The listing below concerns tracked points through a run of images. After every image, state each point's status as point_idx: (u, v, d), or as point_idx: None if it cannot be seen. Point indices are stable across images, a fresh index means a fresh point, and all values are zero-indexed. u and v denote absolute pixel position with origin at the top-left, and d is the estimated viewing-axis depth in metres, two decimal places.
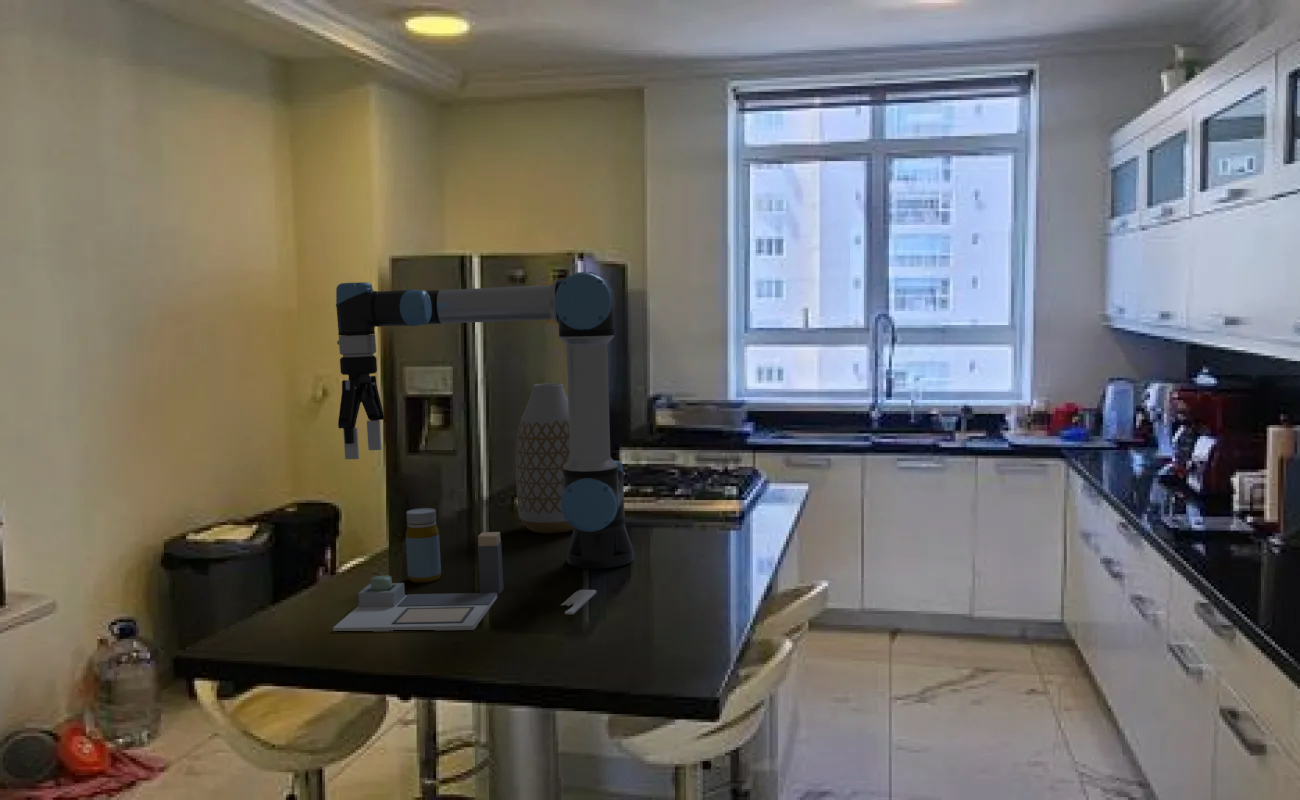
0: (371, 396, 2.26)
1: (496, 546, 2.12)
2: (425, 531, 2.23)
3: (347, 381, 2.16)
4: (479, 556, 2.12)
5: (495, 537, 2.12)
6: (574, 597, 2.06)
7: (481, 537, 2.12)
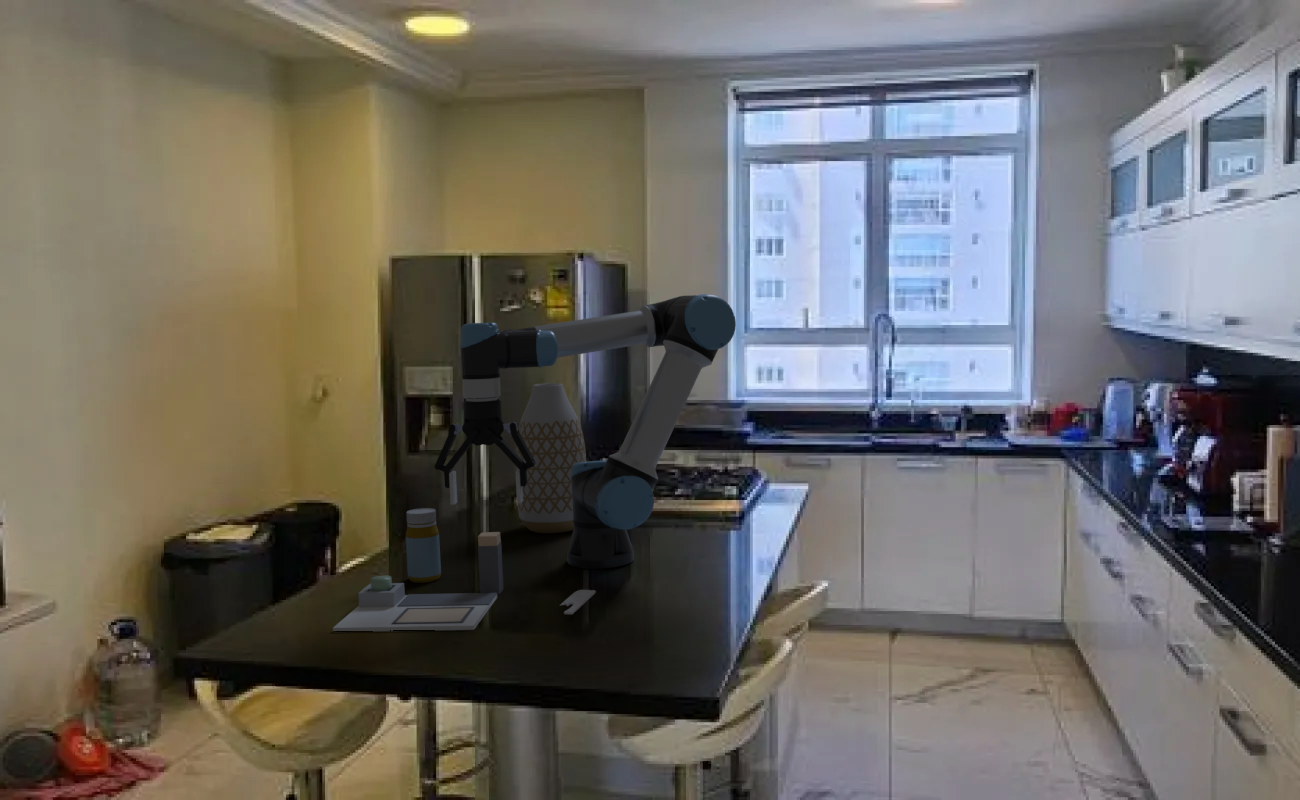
0: None
1: (496, 546, 2.12)
2: (425, 531, 2.23)
3: None
4: (479, 556, 2.12)
5: (495, 537, 2.11)
6: (573, 597, 2.06)
7: (481, 537, 2.12)
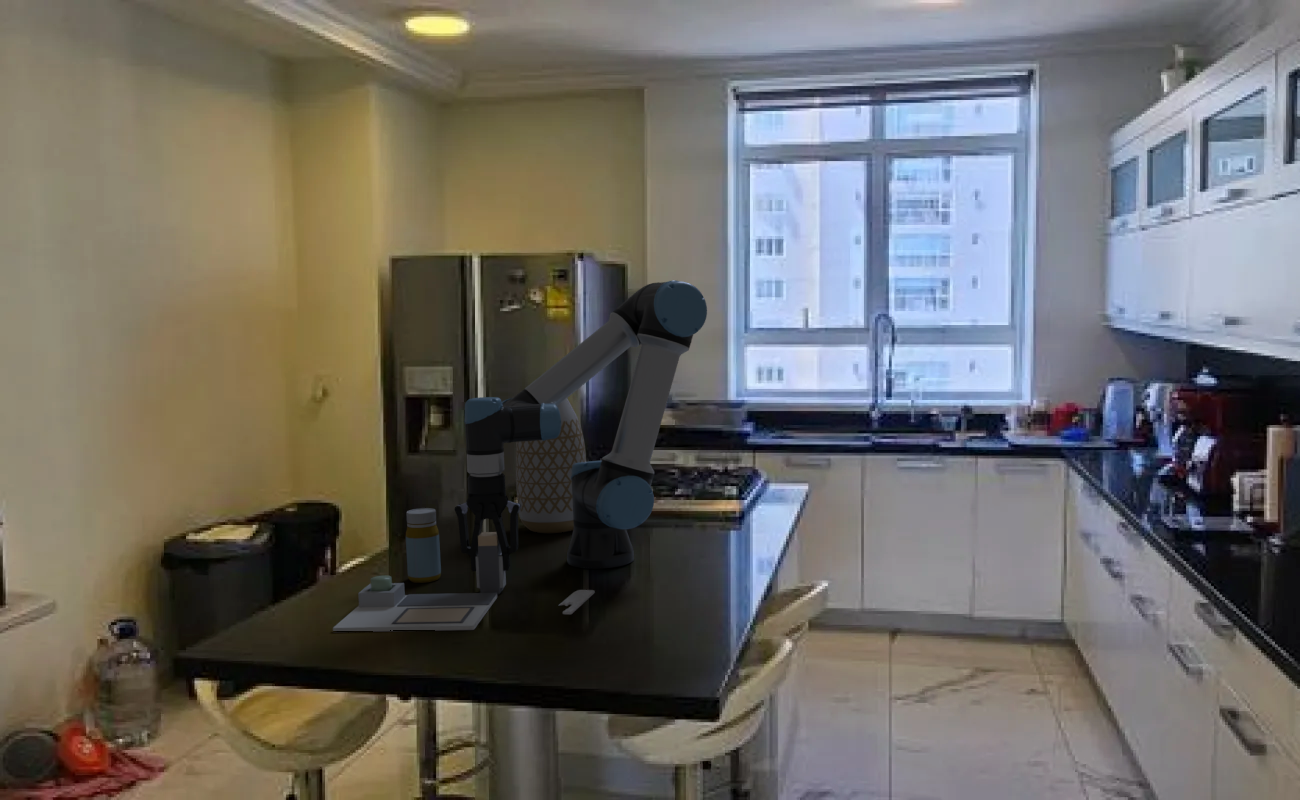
0: (493, 520, 2.12)
1: (496, 546, 2.12)
2: (425, 531, 2.23)
3: None
4: (479, 556, 2.12)
5: (495, 537, 2.11)
6: (572, 597, 2.07)
7: (481, 537, 2.12)
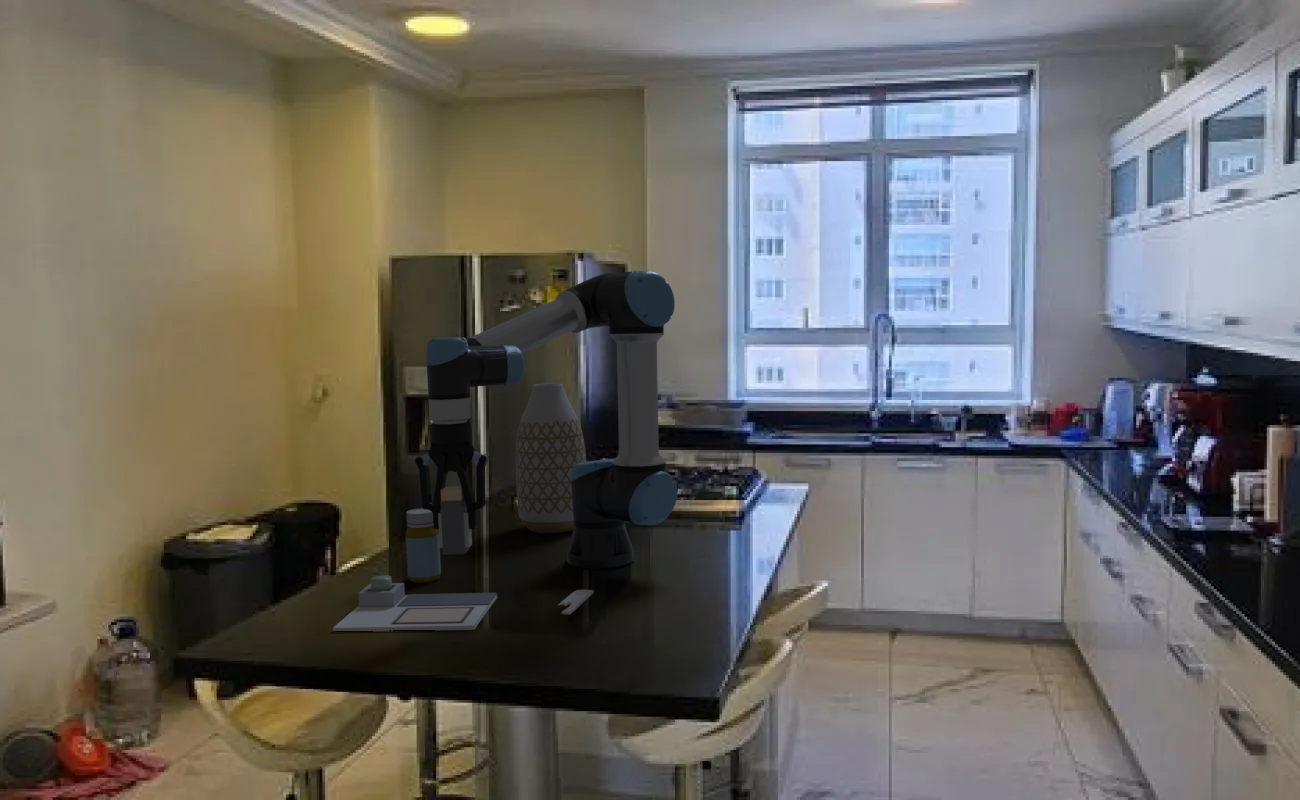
0: None
1: (461, 501, 1.92)
2: (425, 531, 2.23)
3: None
4: (442, 512, 1.92)
5: (460, 491, 1.92)
6: (571, 597, 2.07)
7: (444, 491, 1.92)
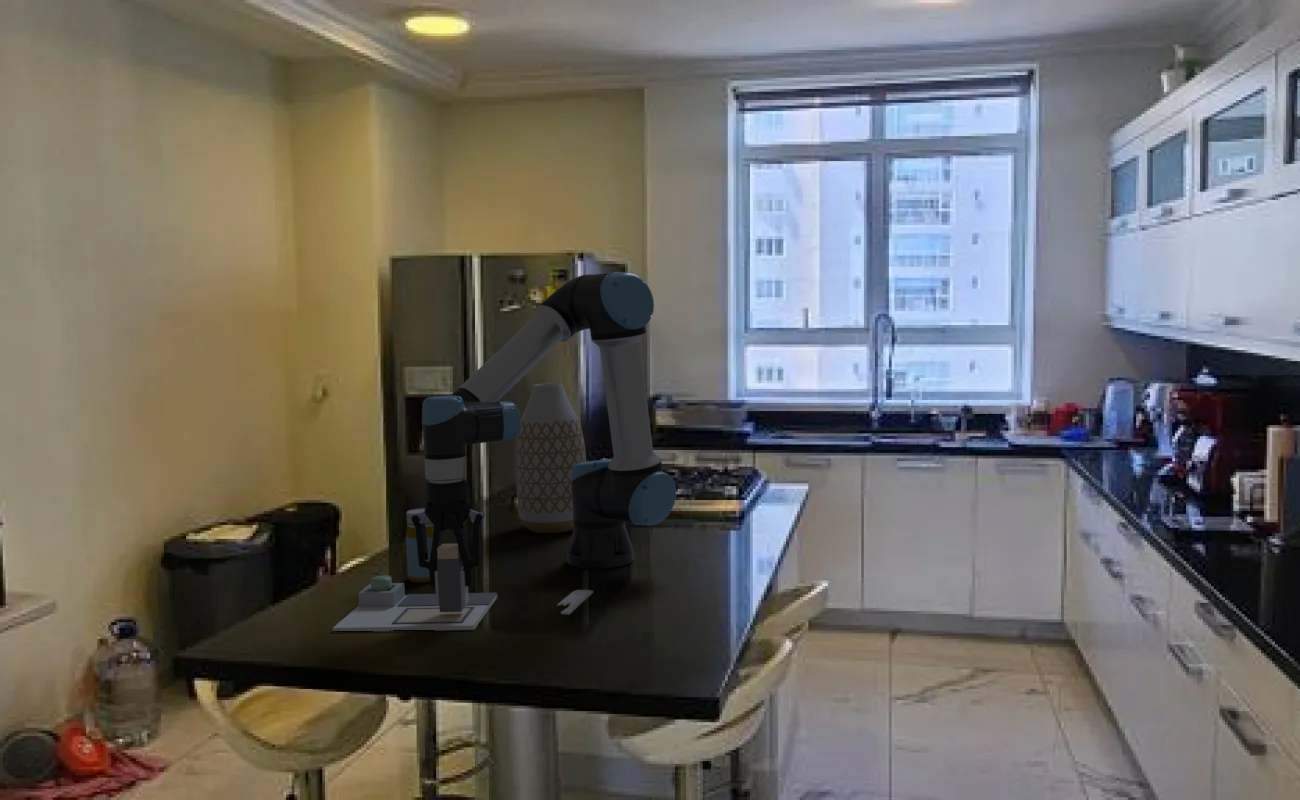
0: None
1: (457, 559, 1.93)
2: None
3: None
4: (438, 570, 1.93)
5: (456, 549, 1.93)
6: (570, 597, 2.07)
7: (441, 549, 1.93)
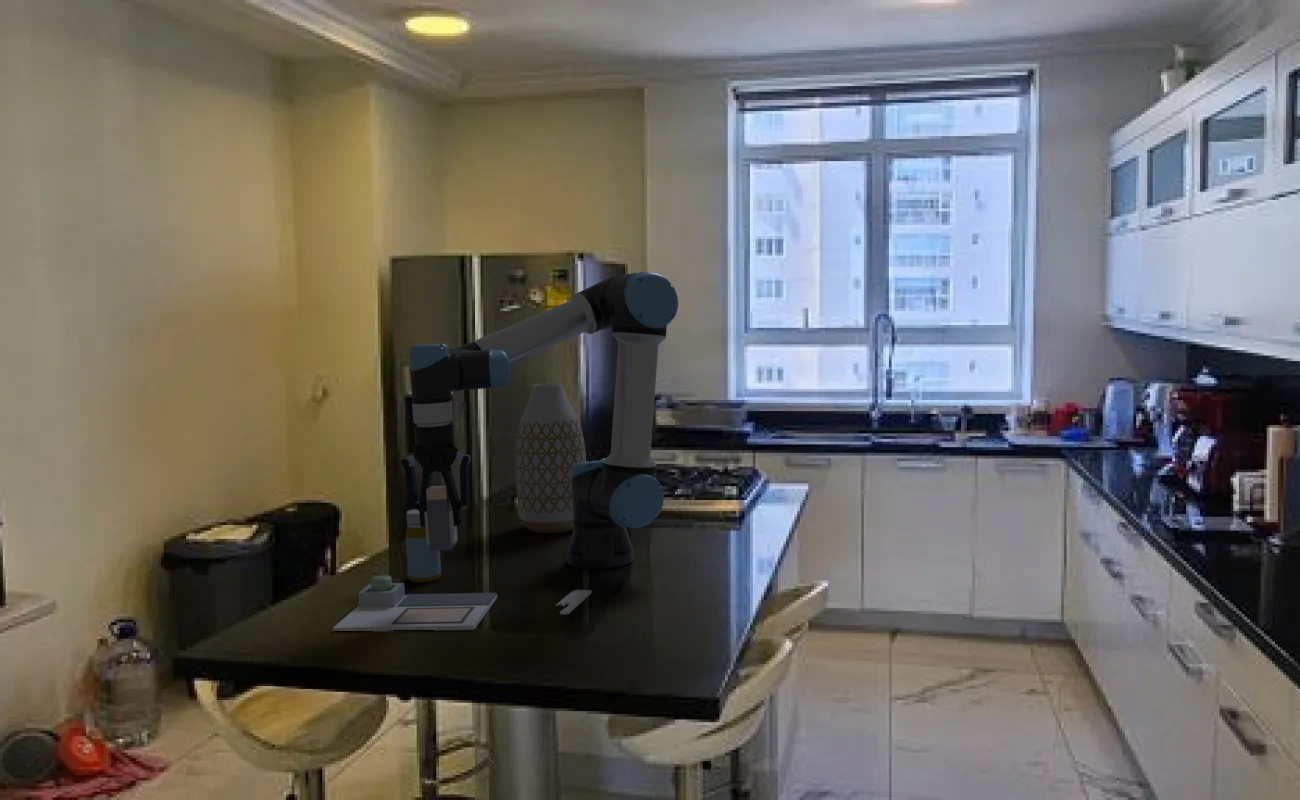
0: None
1: (445, 500, 2.01)
2: (425, 531, 2.23)
3: None
4: (428, 510, 2.02)
5: (444, 490, 2.01)
6: (569, 597, 2.07)
7: (429, 490, 2.01)
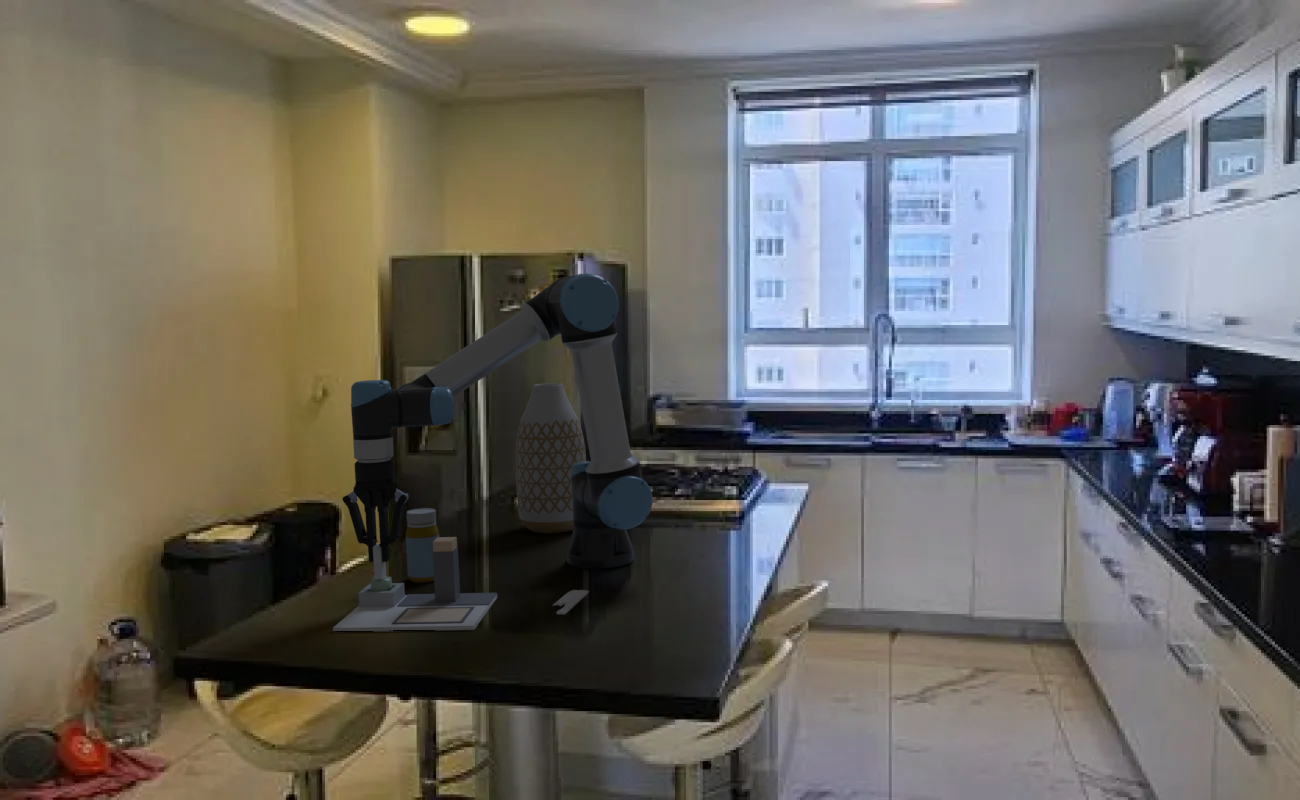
0: None
1: (452, 552, 2.04)
2: (425, 531, 2.23)
3: None
4: (434, 562, 2.04)
5: (451, 542, 2.03)
6: (566, 597, 2.07)
7: (436, 542, 2.04)
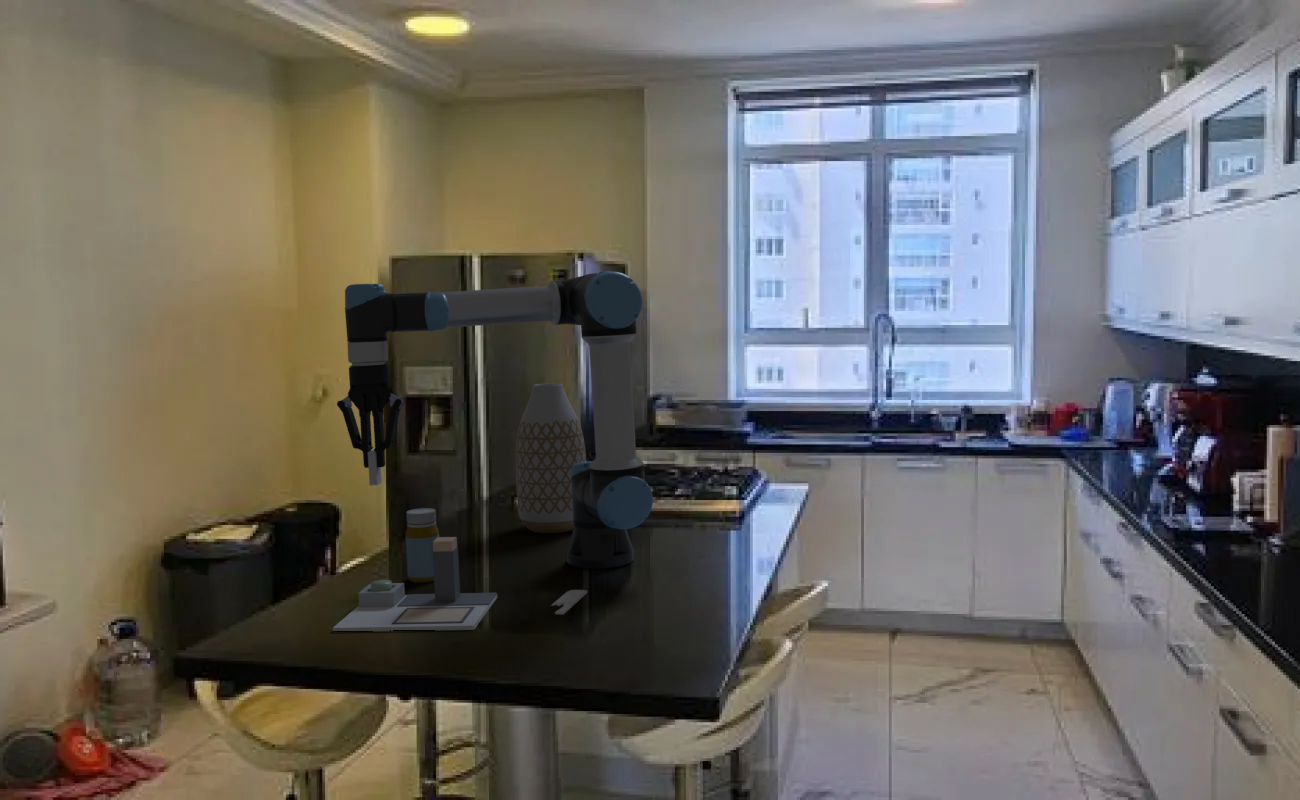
0: None
1: (452, 552, 2.04)
2: (425, 531, 2.23)
3: None
4: (434, 562, 2.04)
5: (451, 542, 2.03)
6: (564, 597, 2.07)
7: (436, 542, 2.04)
